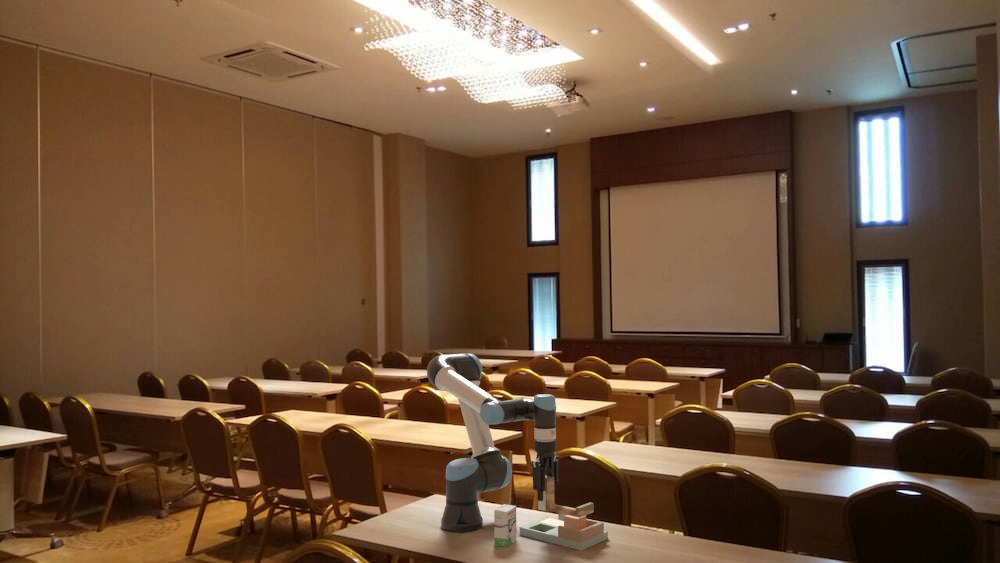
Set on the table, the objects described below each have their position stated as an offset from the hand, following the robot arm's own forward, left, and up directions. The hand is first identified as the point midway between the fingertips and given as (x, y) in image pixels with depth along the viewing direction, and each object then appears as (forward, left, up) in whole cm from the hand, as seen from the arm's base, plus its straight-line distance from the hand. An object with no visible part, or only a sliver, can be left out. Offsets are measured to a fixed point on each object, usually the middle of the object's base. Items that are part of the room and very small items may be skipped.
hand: (546, 508), depth 249 cm
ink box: (-7, -13, -10) cm, 18 cm away
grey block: (-6, +20, -10) cm, 24 cm away
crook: (+6, +3, 0) cm, 6 cm away
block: (+9, +5, -8) cm, 12 cm away
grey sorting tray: (+4, +5, -10) cm, 12 cm away
